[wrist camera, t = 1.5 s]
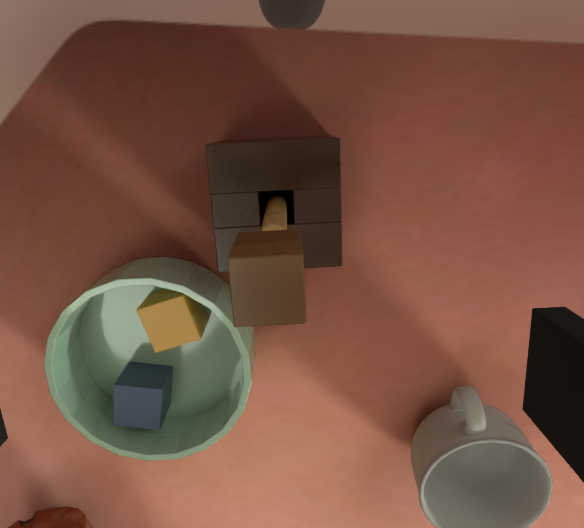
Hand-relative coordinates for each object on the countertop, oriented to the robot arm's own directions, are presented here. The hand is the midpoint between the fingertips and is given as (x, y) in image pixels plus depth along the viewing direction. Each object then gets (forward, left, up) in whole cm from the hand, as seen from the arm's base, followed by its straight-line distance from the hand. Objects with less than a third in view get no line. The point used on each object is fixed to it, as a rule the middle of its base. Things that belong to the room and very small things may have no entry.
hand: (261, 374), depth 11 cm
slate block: (+16, -13, -28) cm, 35 cm away
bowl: (+13, -11, -29) cm, 34 cm away
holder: (0, 0, -29) cm, 29 cm away
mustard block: (+9, -9, -28) cm, 31 cm away
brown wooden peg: (0, 0, -29) cm, 29 cm away
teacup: (+23, +16, -29) cm, 40 cm away
